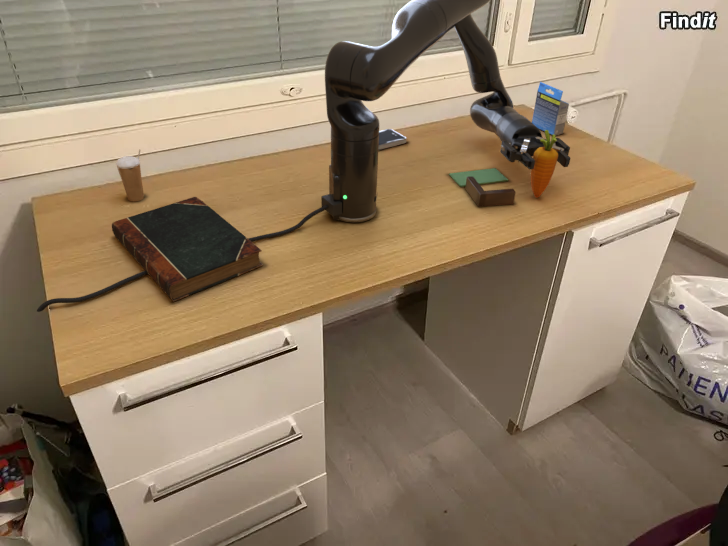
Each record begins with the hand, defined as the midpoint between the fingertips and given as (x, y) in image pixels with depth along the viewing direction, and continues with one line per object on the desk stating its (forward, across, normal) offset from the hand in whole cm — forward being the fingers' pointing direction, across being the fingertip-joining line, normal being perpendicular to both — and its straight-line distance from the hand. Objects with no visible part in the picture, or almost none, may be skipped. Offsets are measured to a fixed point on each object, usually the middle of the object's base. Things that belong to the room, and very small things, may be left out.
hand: (550, 164), depth 121 cm
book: (+8, -74, +9) cm, 75 cm away
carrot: (-2, 0, +9) cm, 9 cm away
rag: (-13, -10, +9) cm, 19 cm away
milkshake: (-15, -85, +9) cm, 87 cm away
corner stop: (-5, -10, +9) cm, 14 cm away
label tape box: (-39, +20, +9) cm, 45 cm away
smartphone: (-36, -29, +9) cm, 47 cm away
